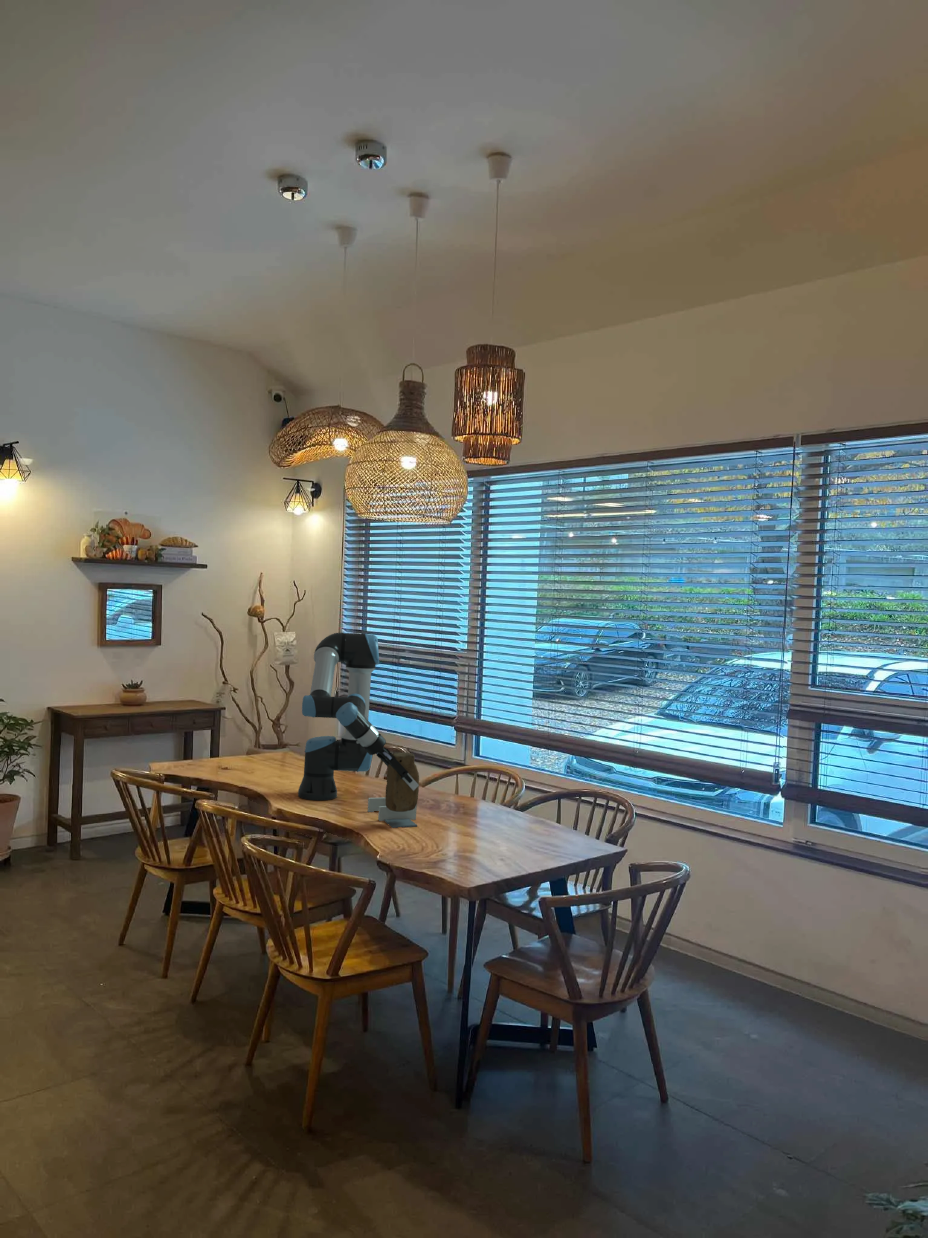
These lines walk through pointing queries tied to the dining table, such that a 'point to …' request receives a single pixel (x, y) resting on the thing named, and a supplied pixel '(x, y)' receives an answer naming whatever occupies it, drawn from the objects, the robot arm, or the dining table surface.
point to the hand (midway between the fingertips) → (411, 785)
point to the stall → (385, 813)
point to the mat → (400, 823)
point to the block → (401, 785)
